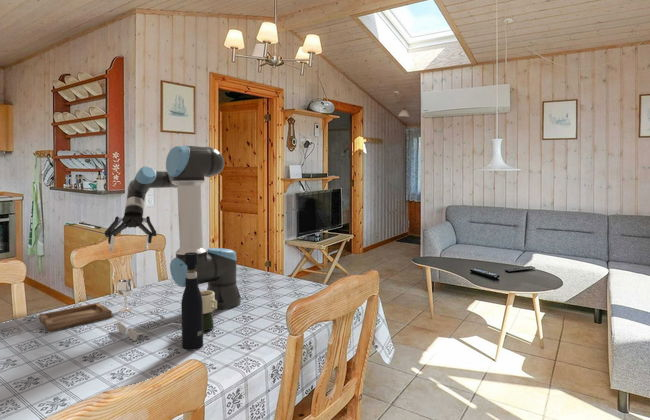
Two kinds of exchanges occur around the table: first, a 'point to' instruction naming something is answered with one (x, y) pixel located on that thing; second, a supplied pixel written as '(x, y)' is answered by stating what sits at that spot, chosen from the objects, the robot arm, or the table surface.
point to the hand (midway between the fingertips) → (128, 249)
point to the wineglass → (125, 291)
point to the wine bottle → (192, 307)
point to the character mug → (208, 308)
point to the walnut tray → (74, 316)
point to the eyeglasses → (131, 332)
